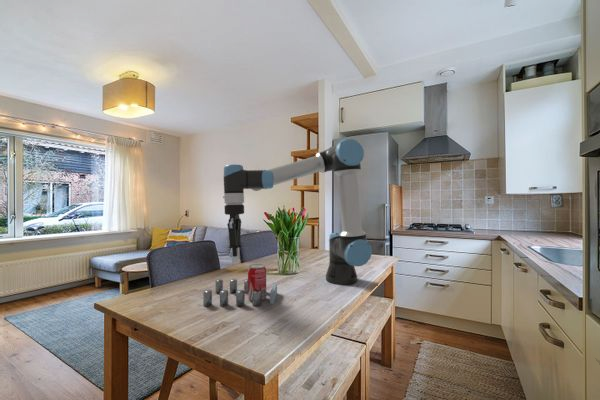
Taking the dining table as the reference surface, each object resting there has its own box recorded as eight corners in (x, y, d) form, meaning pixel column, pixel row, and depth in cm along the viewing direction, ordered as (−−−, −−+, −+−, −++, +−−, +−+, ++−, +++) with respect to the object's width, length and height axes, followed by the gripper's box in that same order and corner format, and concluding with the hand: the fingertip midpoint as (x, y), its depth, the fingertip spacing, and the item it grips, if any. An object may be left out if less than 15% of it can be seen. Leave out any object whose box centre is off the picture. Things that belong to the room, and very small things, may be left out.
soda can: (269, 297, 107) (269, 264, 107) (260, 303, 100) (260, 268, 100) (254, 294, 110) (254, 262, 110) (244, 300, 103) (244, 266, 103)
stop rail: (276, 293, 112) (276, 283, 112) (274, 304, 100) (274, 293, 100) (273, 293, 112) (273, 283, 112) (269, 304, 100) (270, 293, 100)
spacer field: (266, 291, 114) (266, 279, 114) (260, 306, 97) (260, 292, 97) (216, 291, 114) (216, 279, 114) (202, 306, 97) (202, 292, 97)
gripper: (229, 204, 113) (230, 260, 113) (219, 204, 100) (221, 268, 100) (247, 203, 113) (248, 260, 113) (240, 204, 100) (241, 268, 100)
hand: (235, 264), depth 106 cm, fingers closed
